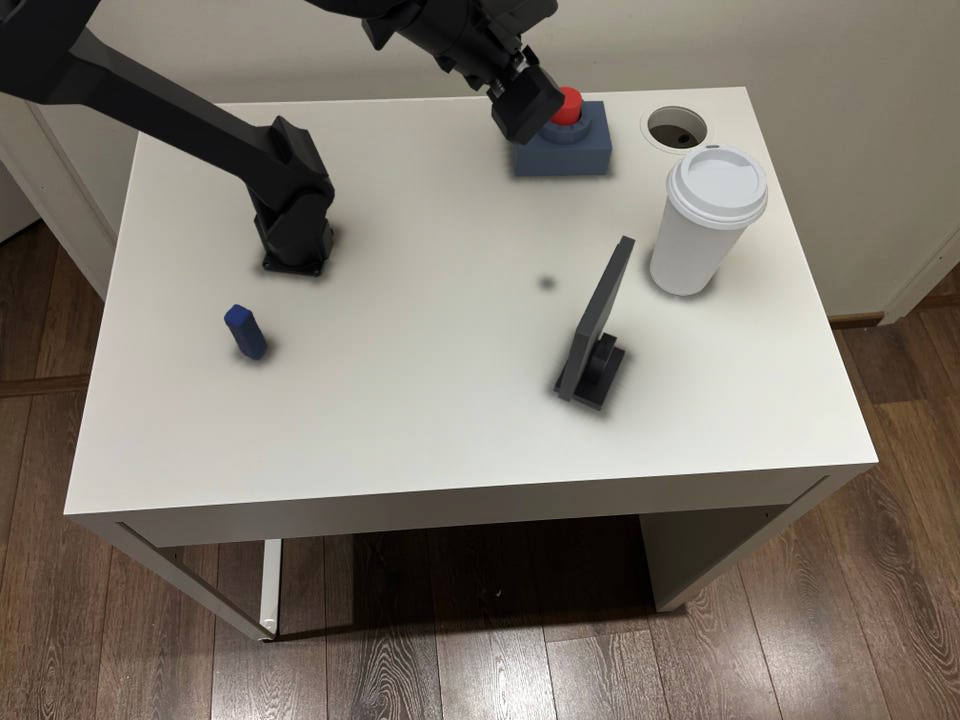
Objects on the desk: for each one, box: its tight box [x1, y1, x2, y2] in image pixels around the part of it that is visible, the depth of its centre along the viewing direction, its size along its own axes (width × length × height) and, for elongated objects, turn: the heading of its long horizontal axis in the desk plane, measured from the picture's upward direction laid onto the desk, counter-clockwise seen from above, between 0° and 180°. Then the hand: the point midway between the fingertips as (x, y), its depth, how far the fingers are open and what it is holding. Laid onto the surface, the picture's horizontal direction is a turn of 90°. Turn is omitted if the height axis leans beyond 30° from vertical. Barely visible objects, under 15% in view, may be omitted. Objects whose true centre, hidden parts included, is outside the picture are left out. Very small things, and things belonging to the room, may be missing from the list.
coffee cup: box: [649, 143, 769, 297], centre depth 71 cm, size 10×10×15 cm
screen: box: [557, 234, 636, 403], centre depth 63 cm, size 1×11×12 cm, turn 155°
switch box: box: [511, 98, 613, 177], centre depth 83 cm, size 11×8×6 cm
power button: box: [550, 86, 583, 125], centre depth 80 cm, size 4×4×2 cm
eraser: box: [223, 303, 268, 361], centre depth 68 cm, size 2×2×7 cm
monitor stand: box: [553, 331, 627, 411], centre depth 68 cm, size 5×7×6 cm
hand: (542, 92), depth 73 cm, fingers closed
